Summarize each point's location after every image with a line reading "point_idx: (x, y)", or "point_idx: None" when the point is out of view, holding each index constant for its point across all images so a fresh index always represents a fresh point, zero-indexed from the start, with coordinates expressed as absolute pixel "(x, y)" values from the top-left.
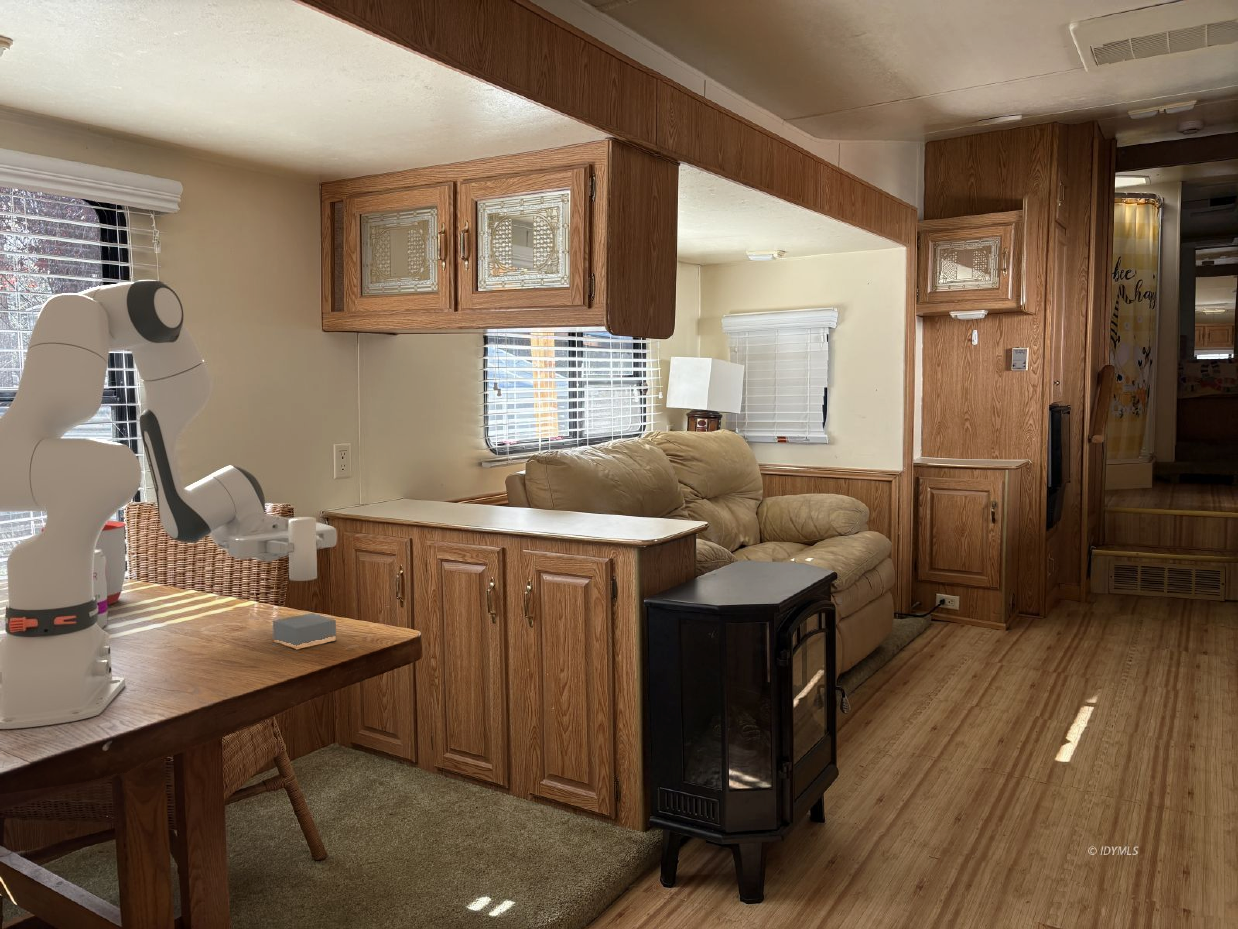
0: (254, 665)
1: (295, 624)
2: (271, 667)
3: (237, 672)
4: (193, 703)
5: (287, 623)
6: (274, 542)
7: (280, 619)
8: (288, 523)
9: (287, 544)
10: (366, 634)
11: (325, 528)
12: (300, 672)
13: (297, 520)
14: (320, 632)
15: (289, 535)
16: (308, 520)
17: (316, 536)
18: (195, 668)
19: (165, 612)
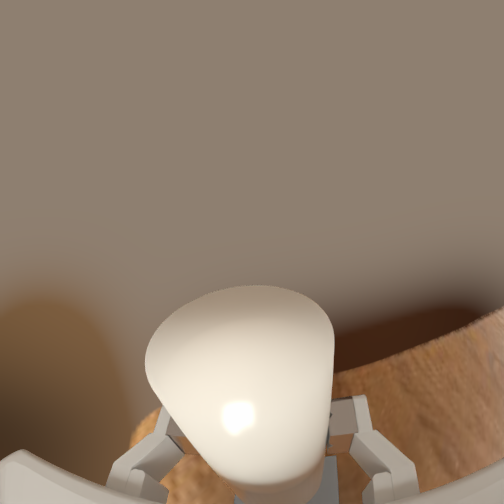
0: (421, 427)
1: (321, 483)
2: (403, 406)
3: (447, 406)
4: (490, 329)
5: (329, 500)
6: (397, 451)
7: None
8: (329, 379)
9: (355, 396)
10: (181, 468)
11: (27, 476)
12: (377, 369)
13: (300, 304)
14: None
15: (330, 405)
16: (251, 285)
17: (136, 455)
18: (491, 447)
19: None
